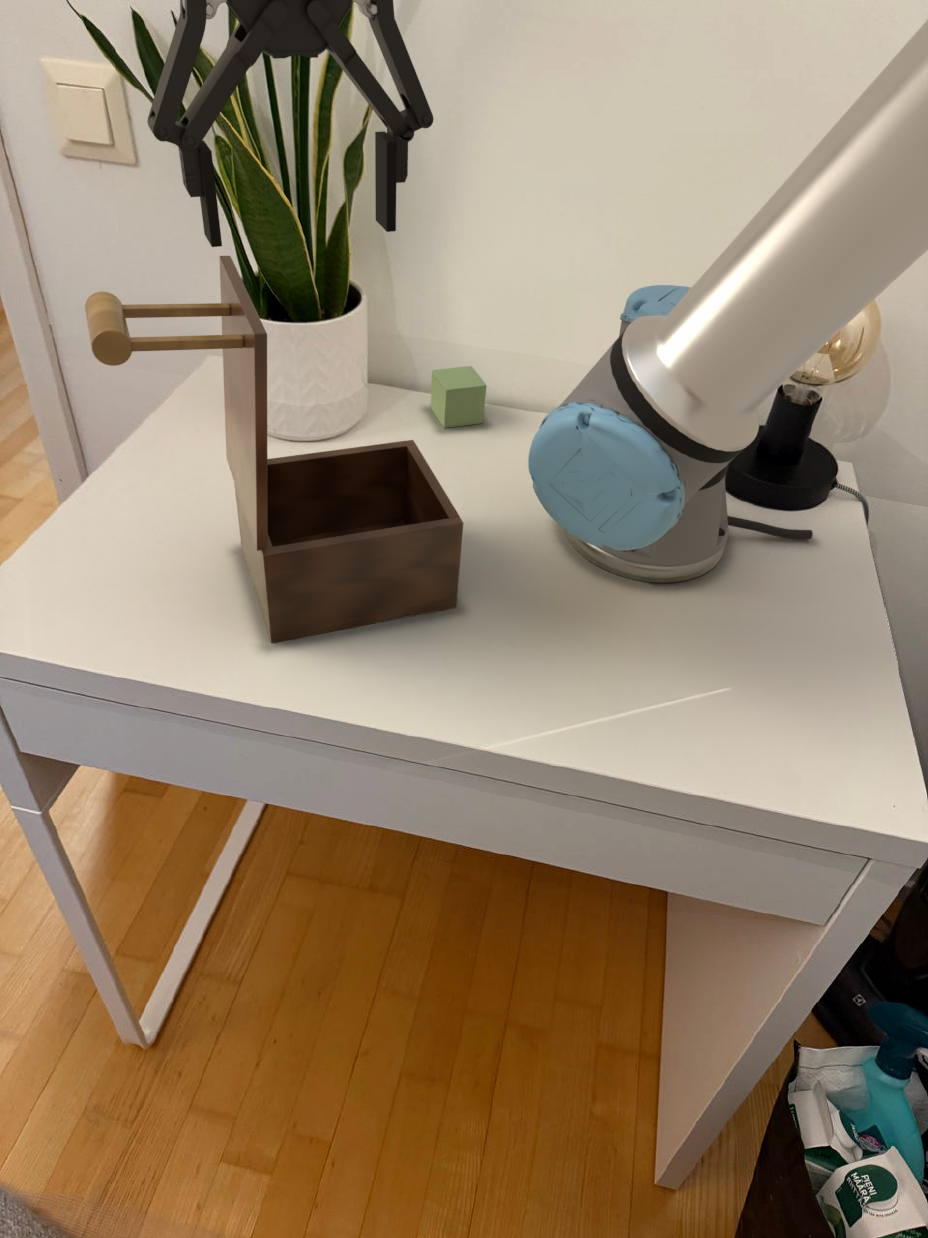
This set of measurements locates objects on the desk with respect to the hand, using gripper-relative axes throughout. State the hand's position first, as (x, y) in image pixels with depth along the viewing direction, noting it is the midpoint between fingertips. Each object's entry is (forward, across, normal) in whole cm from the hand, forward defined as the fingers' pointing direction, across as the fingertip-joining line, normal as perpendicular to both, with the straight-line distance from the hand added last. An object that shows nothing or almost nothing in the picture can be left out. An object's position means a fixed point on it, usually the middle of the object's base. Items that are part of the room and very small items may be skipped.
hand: (302, 233), depth 72 cm
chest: (+26, +1, +11) cm, 28 cm away
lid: (+8, +7, +11) cm, 15 cm away
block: (+26, -19, -12) cm, 34 cm away
